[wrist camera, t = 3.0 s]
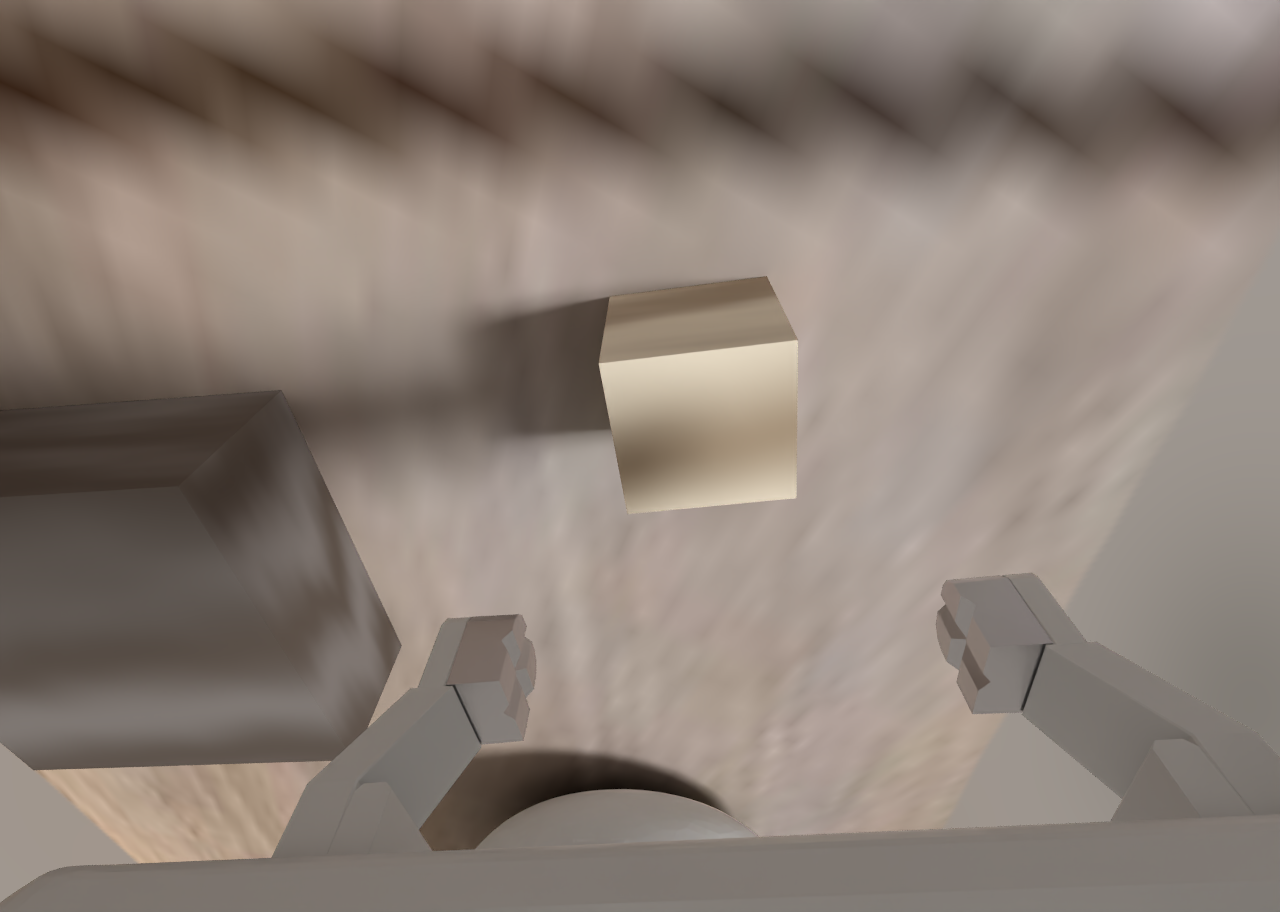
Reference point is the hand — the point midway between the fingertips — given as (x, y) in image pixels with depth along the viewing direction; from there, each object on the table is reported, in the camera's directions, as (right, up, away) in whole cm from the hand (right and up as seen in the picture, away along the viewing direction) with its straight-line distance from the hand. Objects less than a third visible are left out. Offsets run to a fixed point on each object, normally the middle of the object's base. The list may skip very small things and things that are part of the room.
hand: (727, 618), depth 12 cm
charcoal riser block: (-21, 0, +14) cm, 25 cm away
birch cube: (0, +7, +9) cm, 11 cm away
